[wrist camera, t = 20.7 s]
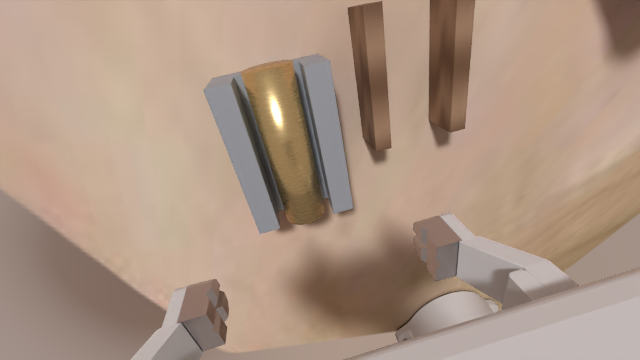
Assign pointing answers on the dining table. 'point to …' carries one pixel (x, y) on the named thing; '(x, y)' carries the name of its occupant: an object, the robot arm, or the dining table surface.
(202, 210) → the dining table surface
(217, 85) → the cradle
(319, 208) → the axle
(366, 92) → the pair of brown bars
